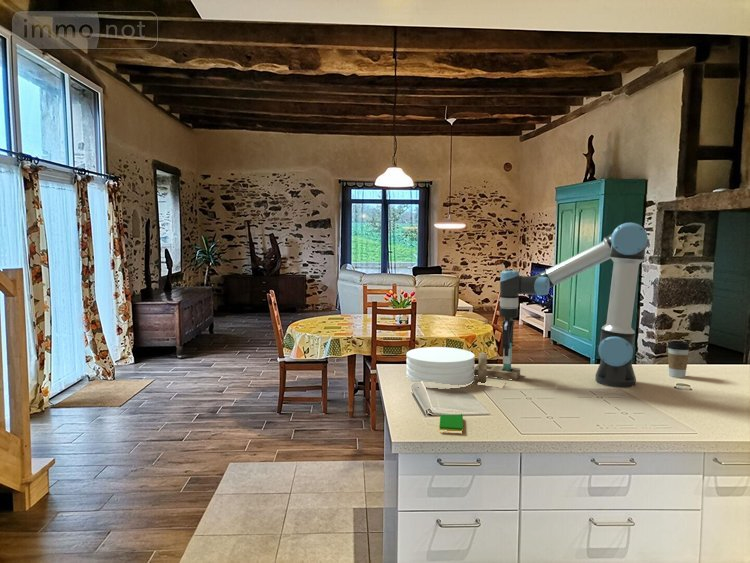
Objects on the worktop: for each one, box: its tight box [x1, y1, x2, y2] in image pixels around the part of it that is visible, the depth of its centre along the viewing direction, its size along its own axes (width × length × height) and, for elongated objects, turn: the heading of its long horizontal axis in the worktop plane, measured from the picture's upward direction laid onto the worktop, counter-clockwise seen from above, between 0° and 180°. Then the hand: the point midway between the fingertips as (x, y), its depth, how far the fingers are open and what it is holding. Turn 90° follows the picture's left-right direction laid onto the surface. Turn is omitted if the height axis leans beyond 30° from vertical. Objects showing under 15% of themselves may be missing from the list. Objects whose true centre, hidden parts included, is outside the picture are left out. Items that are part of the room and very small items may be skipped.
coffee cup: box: [667, 340, 691, 379], centre depth 219 cm, size 8×8×15 cm
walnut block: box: [474, 363, 521, 381], centre depth 219 cm, size 18×10×4 cm, turn 65°
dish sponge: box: [438, 414, 464, 432], centre depth 162 cm, size 7×14×2 cm, turn 171°
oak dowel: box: [477, 352, 488, 383], centre depth 208 cm, size 3×3×12 cm
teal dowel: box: [502, 343, 513, 371], centre depth 216 cm, size 3×3×12 cm
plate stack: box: [405, 346, 476, 386], centre depth 212 cm, size 28×28×12 cm
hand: (507, 362), depth 217 cm, fingers closed on teal dowel, 3 cm apart
